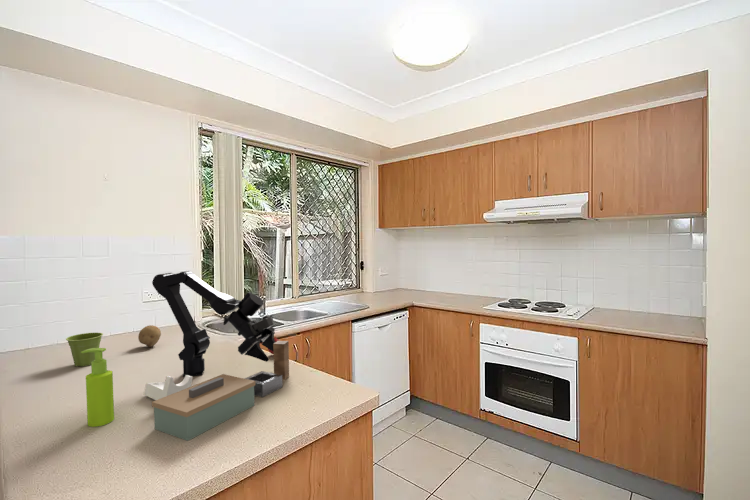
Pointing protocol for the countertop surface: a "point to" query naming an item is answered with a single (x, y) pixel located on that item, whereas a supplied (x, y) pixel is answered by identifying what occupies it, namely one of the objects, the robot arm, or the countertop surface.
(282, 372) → the walnut key
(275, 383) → the grey shallow box
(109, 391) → the soap dispenser
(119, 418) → the countertop surface
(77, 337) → the plant pot
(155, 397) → the bracket
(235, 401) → the toolbox
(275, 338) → the onion
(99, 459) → the countertop surface
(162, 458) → the countertop surface
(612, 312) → the countertop surface
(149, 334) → the potato
